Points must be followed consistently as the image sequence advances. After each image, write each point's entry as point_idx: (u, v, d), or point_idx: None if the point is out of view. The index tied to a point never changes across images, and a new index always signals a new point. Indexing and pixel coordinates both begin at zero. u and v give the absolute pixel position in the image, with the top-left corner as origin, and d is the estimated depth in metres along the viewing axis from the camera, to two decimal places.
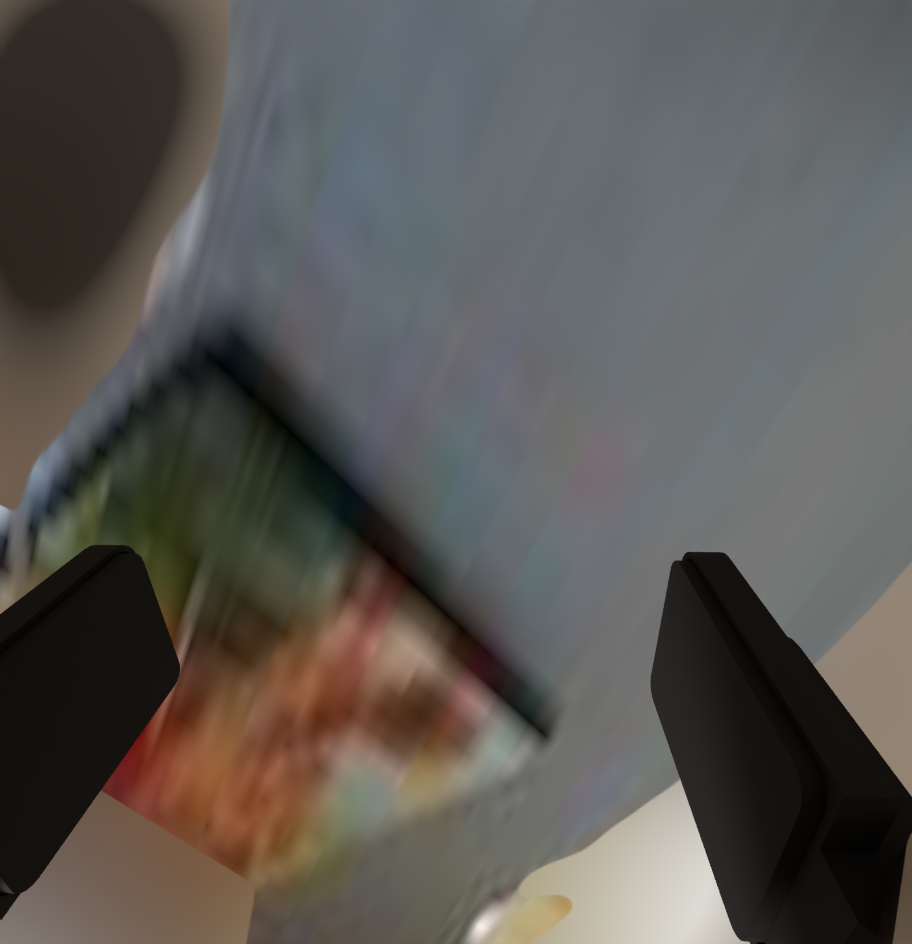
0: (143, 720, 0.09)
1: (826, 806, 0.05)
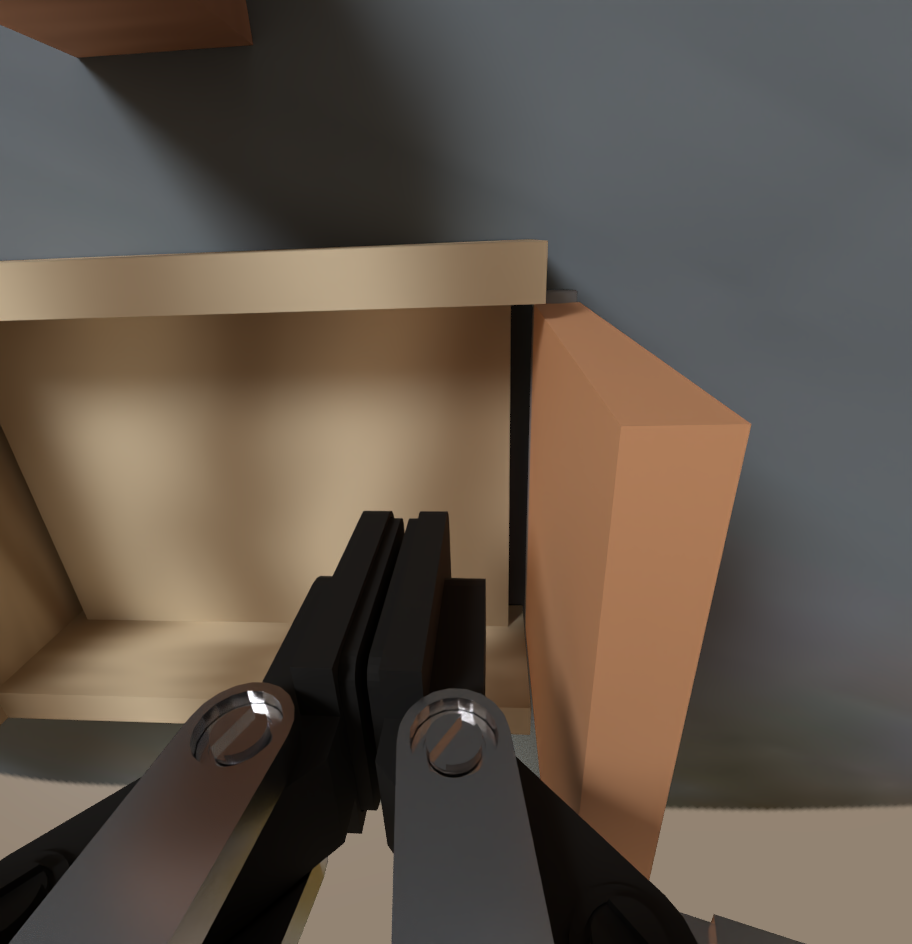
0: None
1: (379, 682, 0.06)
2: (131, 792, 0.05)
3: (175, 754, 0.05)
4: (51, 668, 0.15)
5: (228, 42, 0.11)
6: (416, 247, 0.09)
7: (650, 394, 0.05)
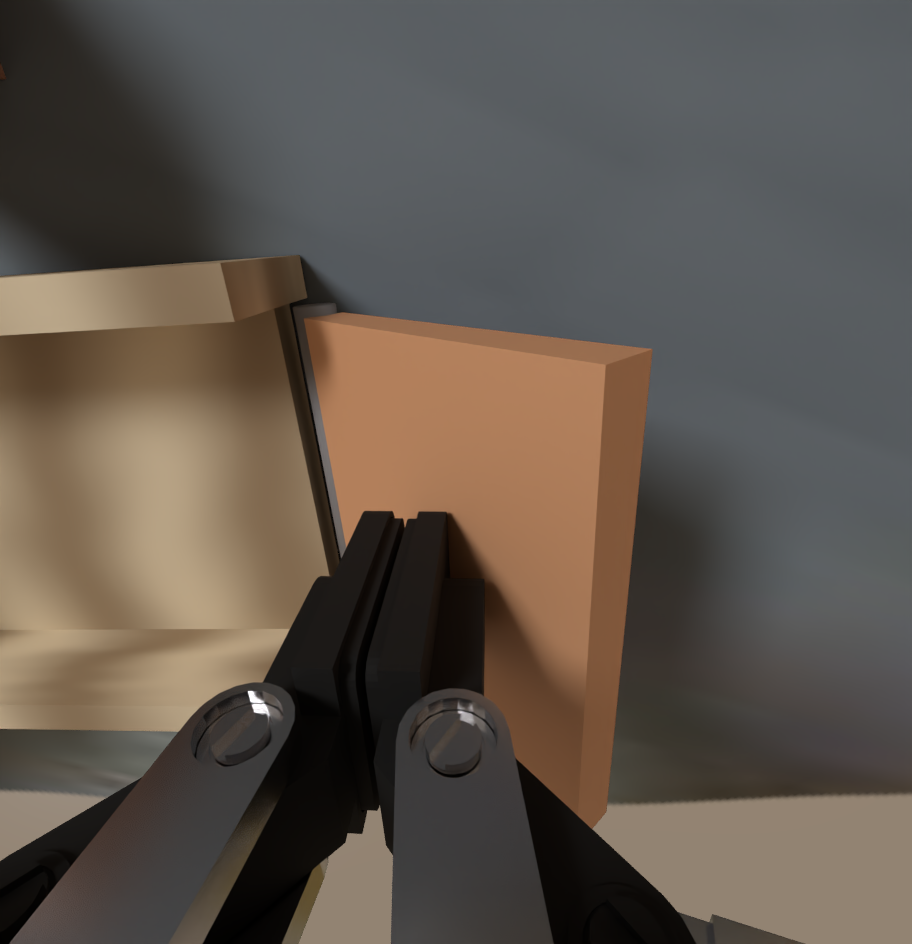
0: None
1: (378, 683, 0.06)
2: (132, 793, 0.05)
3: (176, 754, 0.05)
4: None
5: None
6: (102, 272, 0.09)
7: (571, 348, 0.07)
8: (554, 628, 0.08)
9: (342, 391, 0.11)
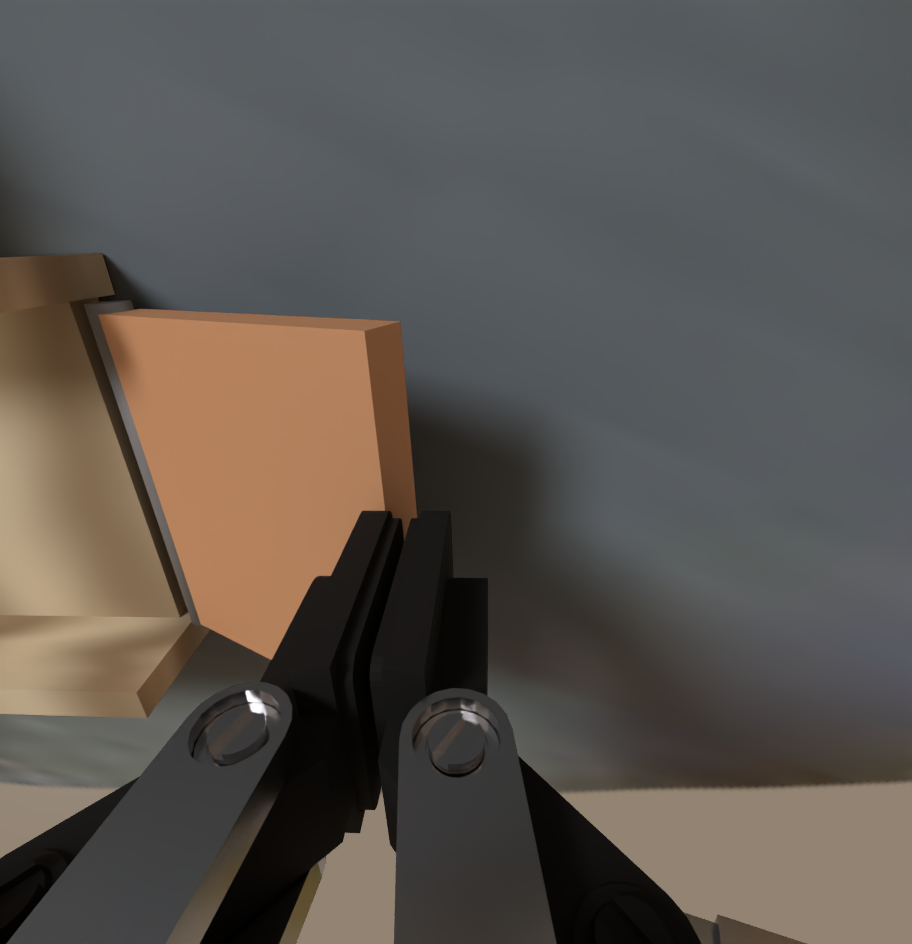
0: None
1: (382, 682, 0.06)
2: (129, 792, 0.05)
3: (173, 754, 0.05)
4: None
5: None
6: None
7: (343, 323, 0.09)
8: None
9: (149, 381, 0.12)
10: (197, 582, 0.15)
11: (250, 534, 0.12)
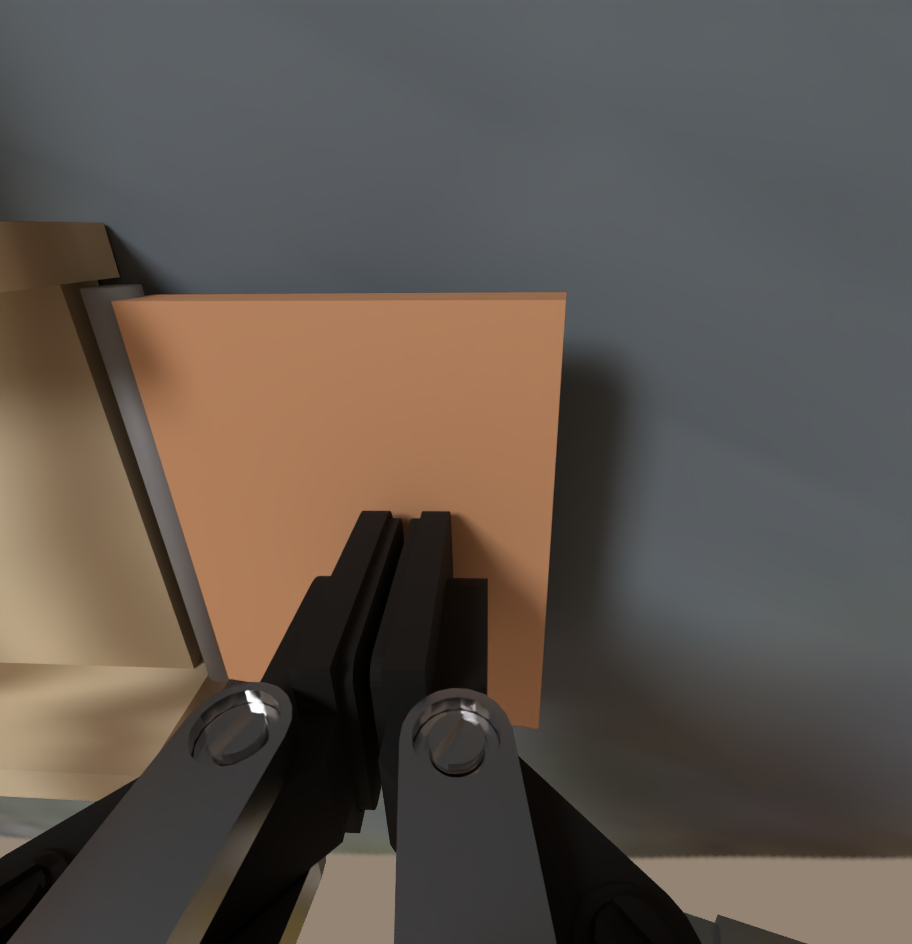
0: None
1: (382, 682, 0.06)
2: (128, 793, 0.05)
3: (173, 754, 0.05)
4: None
5: None
6: None
7: (512, 296, 0.08)
8: (515, 541, 0.09)
9: (196, 383, 0.09)
10: (233, 627, 0.12)
11: (339, 554, 0.10)
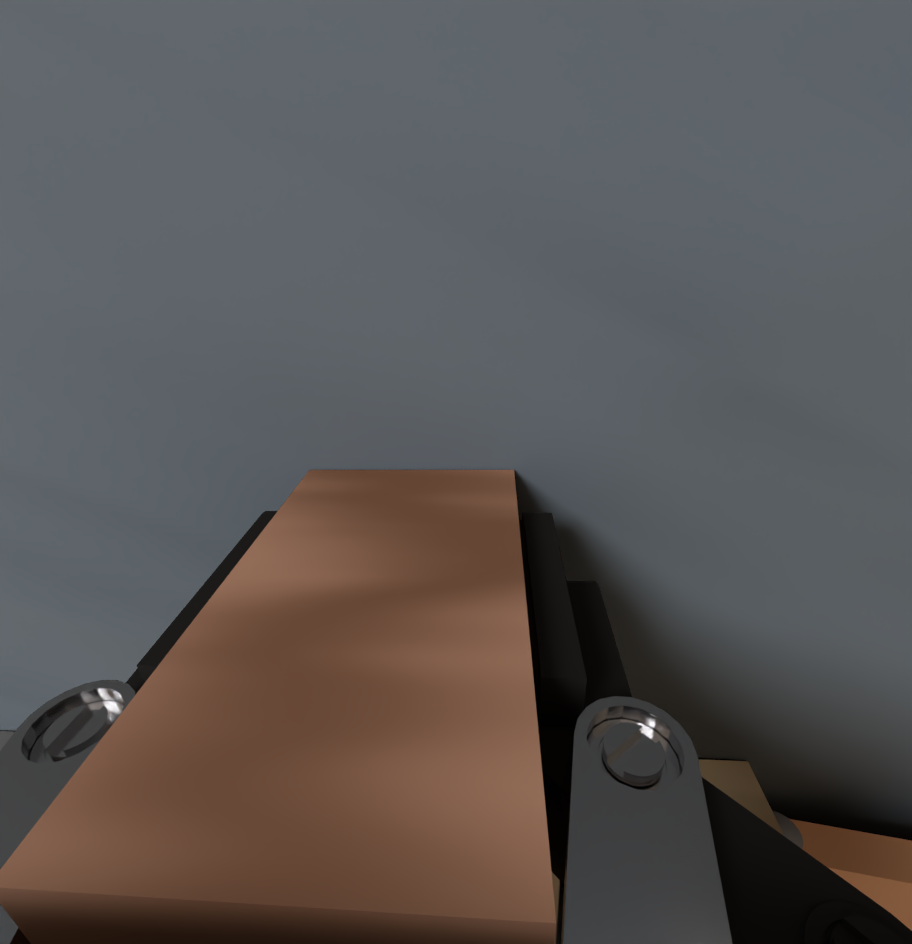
0: None
1: (537, 689, 0.06)
2: None
3: (5, 764, 0.05)
4: None
5: None
6: None
7: None
8: None
9: None
10: None
11: None
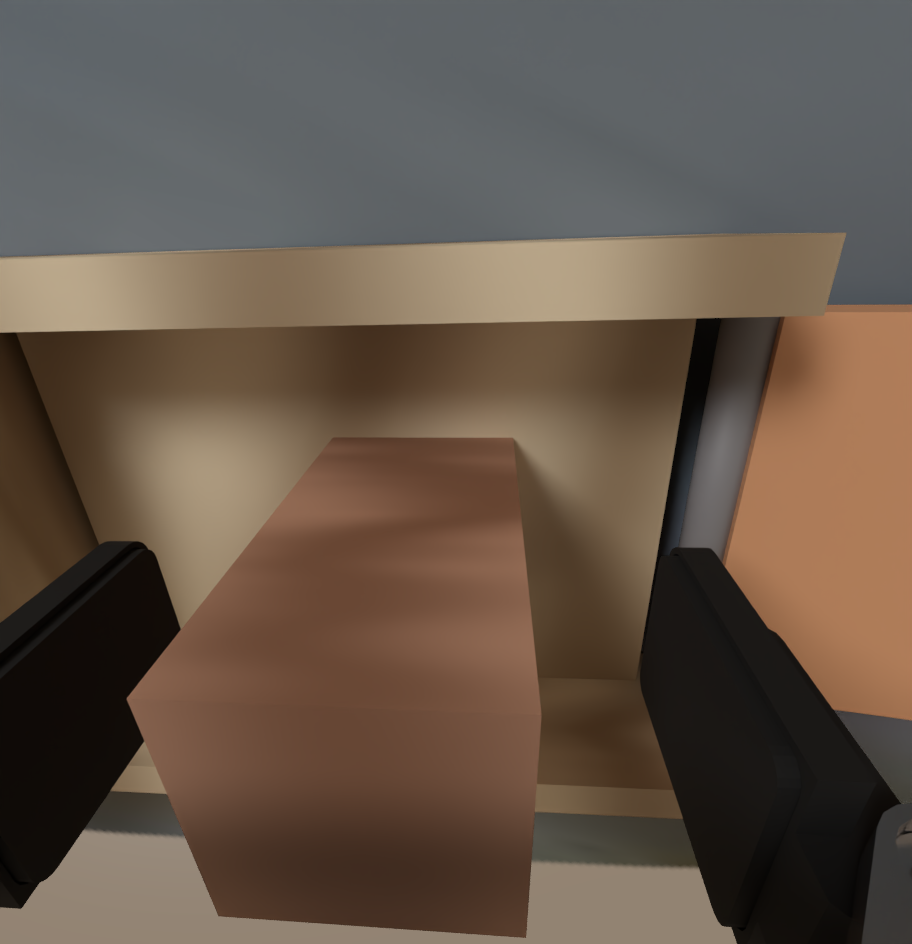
0: None
1: (801, 791, 0.05)
2: None
3: None
4: None
5: None
6: (665, 240, 0.06)
7: None
8: None
9: (845, 394, 0.09)
10: None
11: None
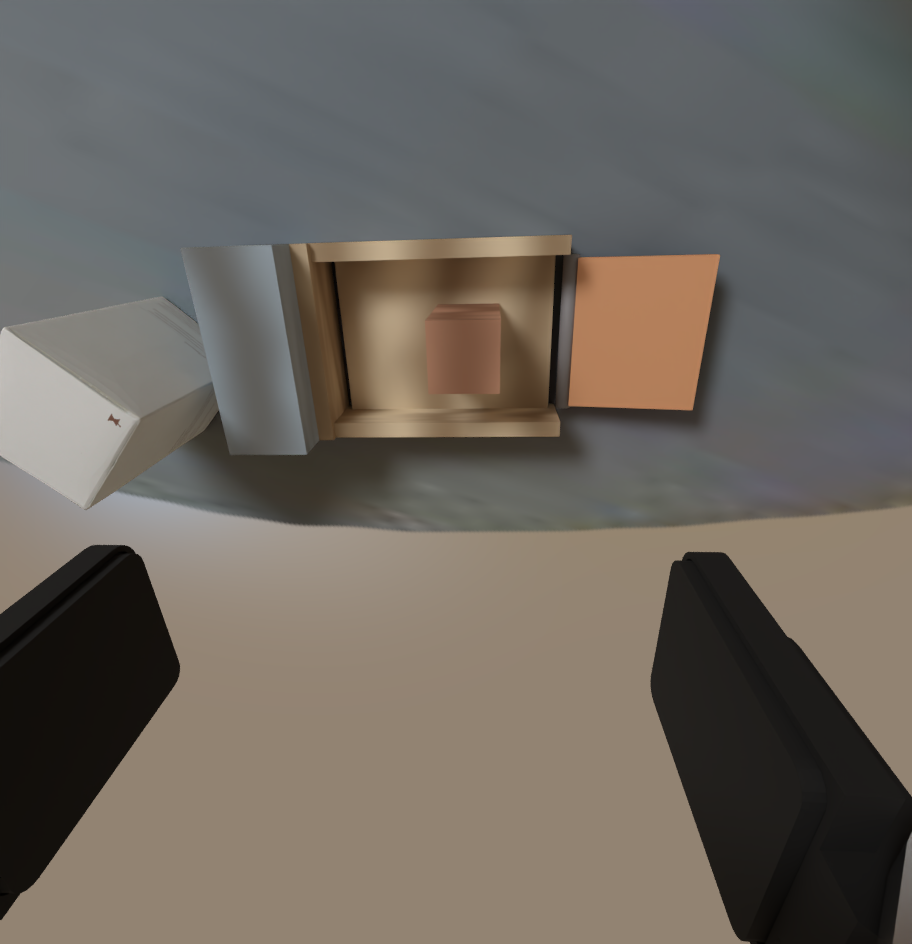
0: (143, 720, 0.09)
1: (826, 806, 0.05)
2: None
3: None
4: (351, 418, 0.34)
5: None
6: (531, 236, 0.28)
7: None
8: (695, 331, 0.31)
9: (598, 283, 0.31)
10: (579, 380, 0.34)
11: (631, 342, 0.32)
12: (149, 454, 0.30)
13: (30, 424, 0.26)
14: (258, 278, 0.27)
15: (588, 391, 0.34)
